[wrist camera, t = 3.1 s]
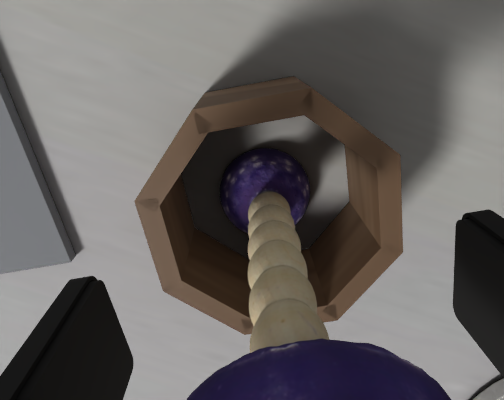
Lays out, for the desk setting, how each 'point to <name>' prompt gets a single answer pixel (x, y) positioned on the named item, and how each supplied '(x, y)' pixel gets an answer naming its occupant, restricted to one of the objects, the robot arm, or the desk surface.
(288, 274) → the toy lamp
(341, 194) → the desk surface
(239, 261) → the holder ring
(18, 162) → the mat
